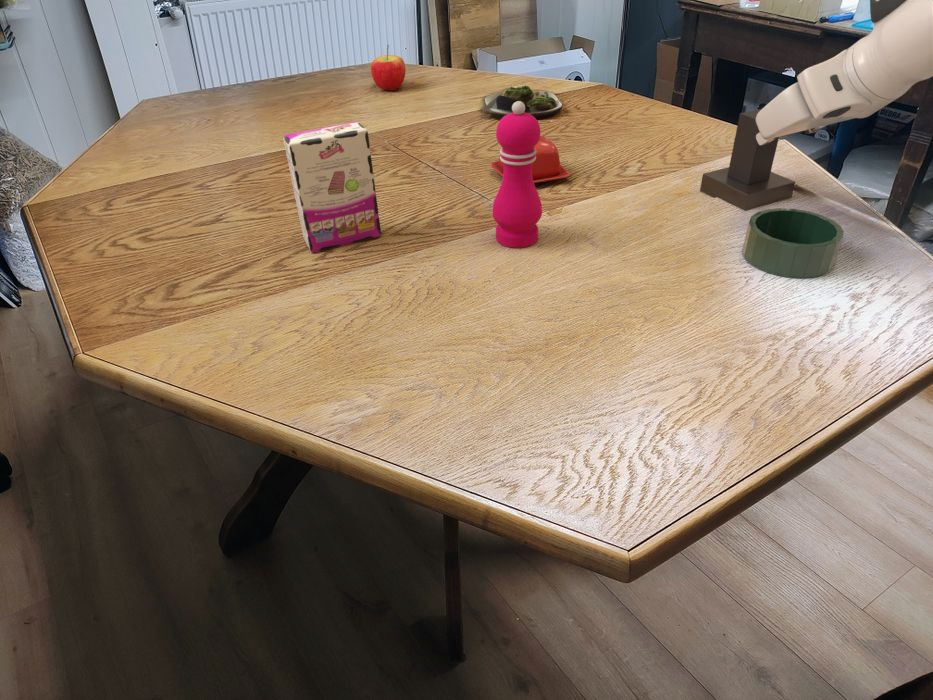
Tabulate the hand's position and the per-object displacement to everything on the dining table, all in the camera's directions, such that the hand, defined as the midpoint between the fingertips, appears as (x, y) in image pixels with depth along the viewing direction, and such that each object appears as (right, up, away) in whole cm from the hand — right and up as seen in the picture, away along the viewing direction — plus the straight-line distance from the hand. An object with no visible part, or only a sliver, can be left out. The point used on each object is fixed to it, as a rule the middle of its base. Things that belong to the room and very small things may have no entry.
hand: (784, 134), depth 102 cm
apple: (-66, +32, +68) cm, 100 cm away
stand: (-2, -7, +10) cm, 12 cm away
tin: (-3, -20, -8) cm, 21 cm away
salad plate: (-35, +21, +51) cm, 65 cm away
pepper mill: (-40, -16, 0) cm, 43 cm away
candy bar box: (-66, -16, +2) cm, 68 cm away
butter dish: (-36, -1, +20) cm, 41 cm away
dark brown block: (-2, -4, +8) cm, 10 cm away
